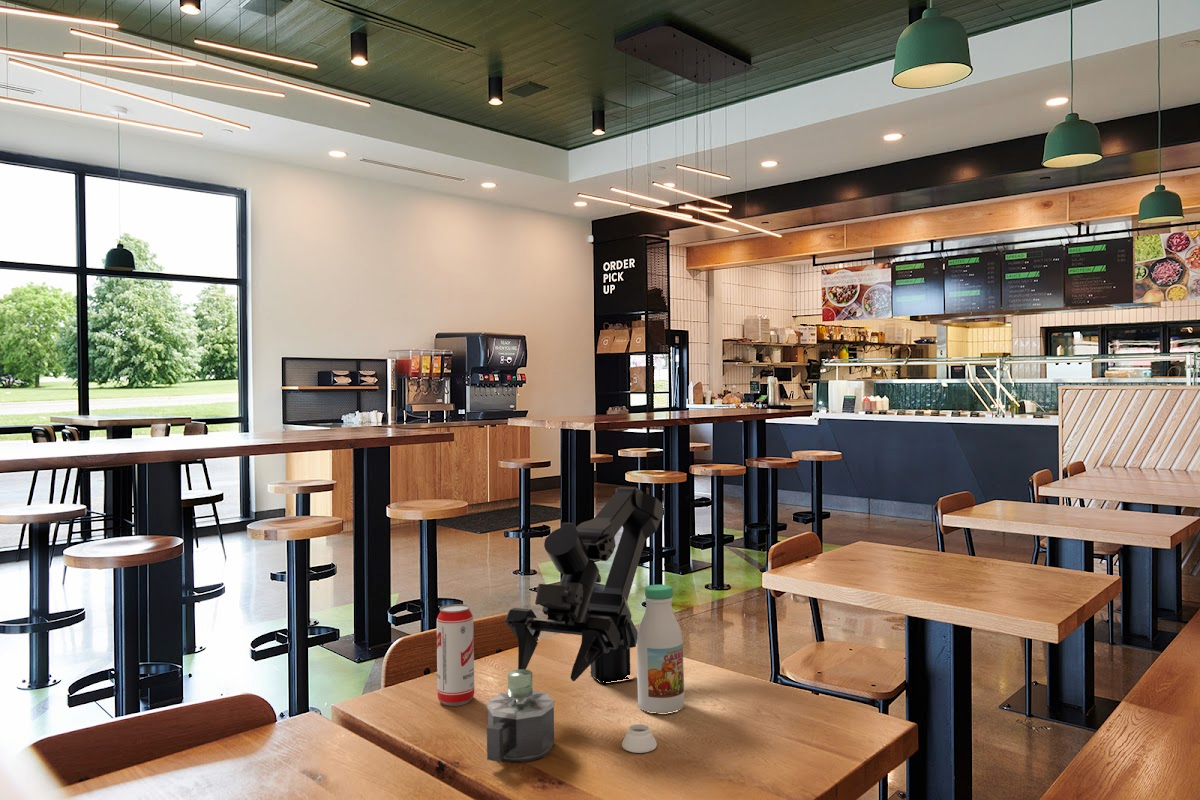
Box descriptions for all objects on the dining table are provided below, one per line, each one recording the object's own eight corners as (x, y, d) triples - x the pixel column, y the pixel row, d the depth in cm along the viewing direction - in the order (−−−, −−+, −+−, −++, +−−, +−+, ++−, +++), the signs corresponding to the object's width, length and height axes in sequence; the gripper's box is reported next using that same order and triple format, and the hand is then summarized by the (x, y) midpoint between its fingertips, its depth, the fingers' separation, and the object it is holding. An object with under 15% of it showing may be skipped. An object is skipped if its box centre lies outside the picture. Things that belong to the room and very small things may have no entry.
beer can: (478, 694, 141) (477, 603, 141) (469, 707, 134) (467, 612, 135) (443, 693, 141) (442, 603, 141) (432, 707, 135) (431, 611, 135)
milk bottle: (631, 712, 131) (629, 590, 131) (646, 696, 138) (644, 580, 138) (676, 718, 128) (674, 593, 128) (689, 702, 135) (687, 583, 136)
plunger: (516, 733, 120) (515, 668, 120) (537, 737, 118) (536, 670, 118) (504, 743, 116) (503, 675, 116) (525, 746, 115) (524, 678, 115)
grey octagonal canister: (510, 733, 123) (509, 687, 123) (563, 741, 120) (562, 694, 120) (465, 765, 112) (464, 715, 112) (522, 776, 108) (521, 724, 108)
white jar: (654, 756, 114) (658, 742, 119) (653, 735, 114) (658, 722, 119) (619, 754, 115) (625, 740, 120) (619, 733, 115) (625, 720, 120)
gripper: (509, 559, 134) (474, 643, 123) (612, 566, 126) (583, 656, 116) (533, 596, 141) (501, 679, 130) (631, 605, 133) (606, 693, 123)
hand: (545, 676), depth 125 cm, fingers open, 9 cm apart
